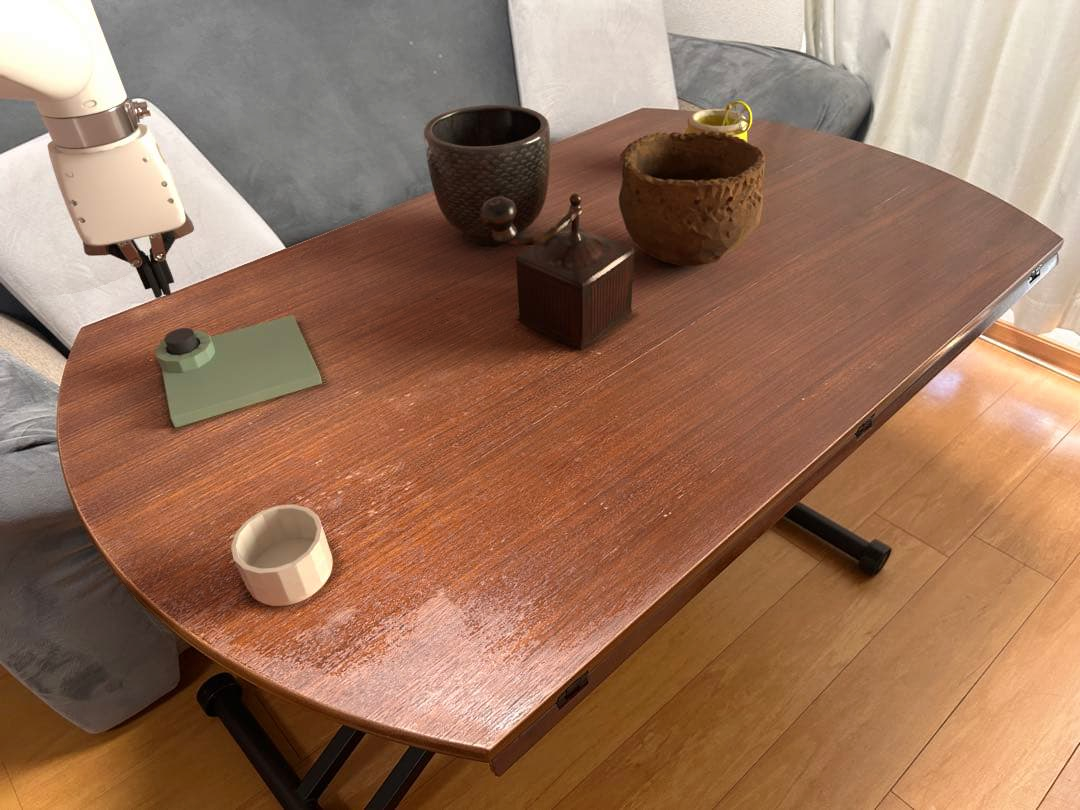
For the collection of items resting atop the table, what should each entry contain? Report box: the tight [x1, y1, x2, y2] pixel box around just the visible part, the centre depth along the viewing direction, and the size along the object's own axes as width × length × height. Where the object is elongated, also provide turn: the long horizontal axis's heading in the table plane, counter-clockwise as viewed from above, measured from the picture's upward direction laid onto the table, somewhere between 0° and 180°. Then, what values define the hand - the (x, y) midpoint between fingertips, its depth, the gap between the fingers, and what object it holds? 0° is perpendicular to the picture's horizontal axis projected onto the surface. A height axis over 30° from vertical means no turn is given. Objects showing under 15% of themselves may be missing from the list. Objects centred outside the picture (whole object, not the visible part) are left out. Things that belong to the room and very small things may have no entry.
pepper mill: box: [480, 192, 635, 351], centre depth 88 cm, size 16×11×18 cm
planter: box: [423, 104, 551, 247], centre depth 108 cm, size 17×17×16 cm
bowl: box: [618, 131, 766, 267], centre depth 101 cm, size 19×19×15 cm
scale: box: [154, 314, 323, 429], centre depth 87 cm, size 16×14×3 cm
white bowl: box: [230, 503, 334, 607], centre depth 64 cm, size 7×7×4 cm
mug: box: [684, 100, 753, 142], centre depth 125 cm, size 13×11×12 cm
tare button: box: [164, 327, 198, 355], centre depth 87 cm, size 3×3×2 cm
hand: (162, 290), depth 83 cm, fingers closed
